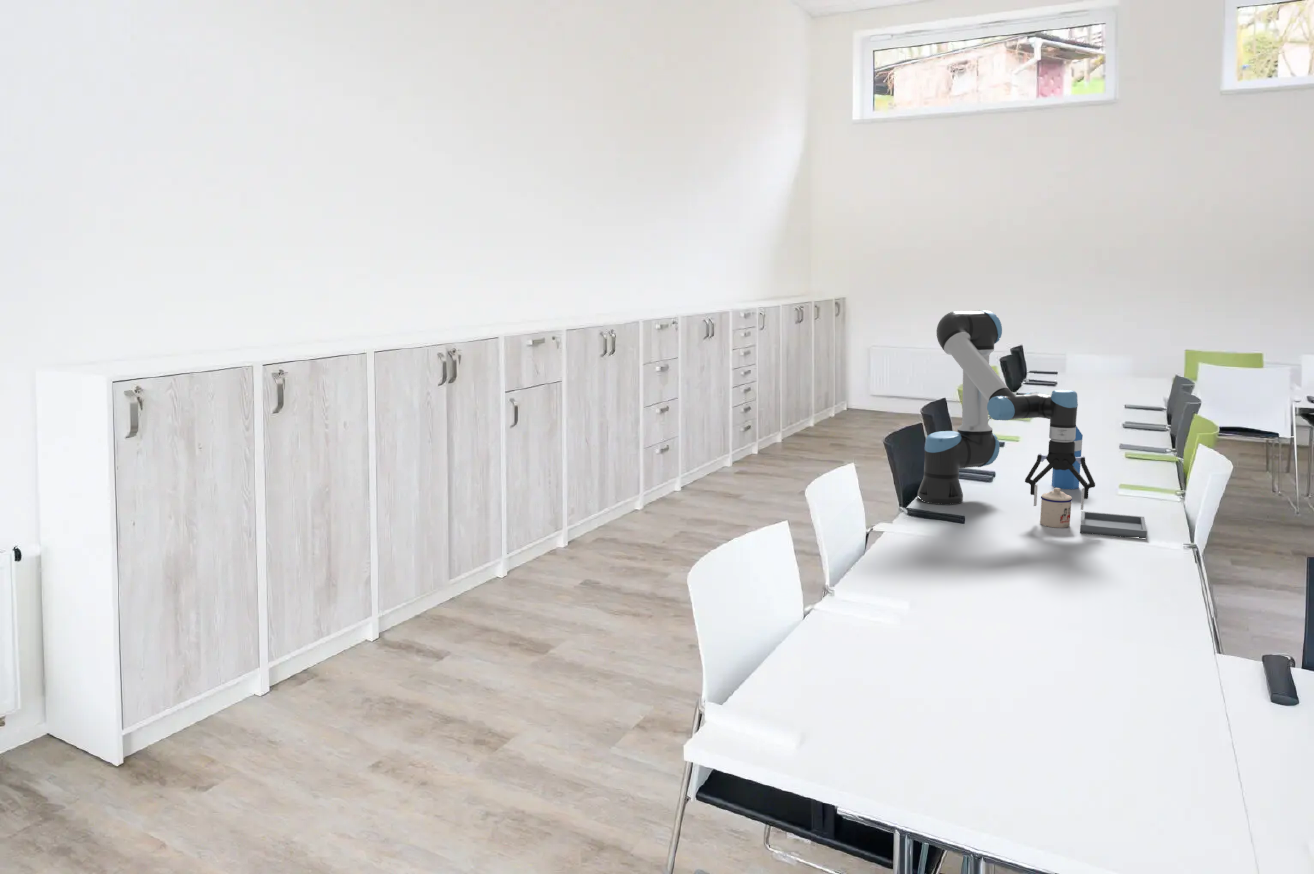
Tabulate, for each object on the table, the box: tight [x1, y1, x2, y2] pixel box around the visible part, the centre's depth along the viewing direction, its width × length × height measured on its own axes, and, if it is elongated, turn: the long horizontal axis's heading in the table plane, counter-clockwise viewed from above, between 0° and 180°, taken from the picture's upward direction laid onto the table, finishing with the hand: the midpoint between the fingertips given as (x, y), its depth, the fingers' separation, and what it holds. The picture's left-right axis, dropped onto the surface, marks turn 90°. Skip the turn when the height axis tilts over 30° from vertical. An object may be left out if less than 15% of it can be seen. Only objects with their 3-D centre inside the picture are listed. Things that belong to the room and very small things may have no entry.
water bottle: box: [1051, 425, 1083, 490], centre depth 356 cm, size 9×9×25 cm
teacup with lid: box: [1039, 487, 1073, 529], centre depth 306 cm, size 12×9×12 cm
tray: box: [1079, 510, 1148, 539], centre depth 301 cm, size 18×18×3 cm
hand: (1058, 507), depth 306 cm, fingers open, 13 cm apart
